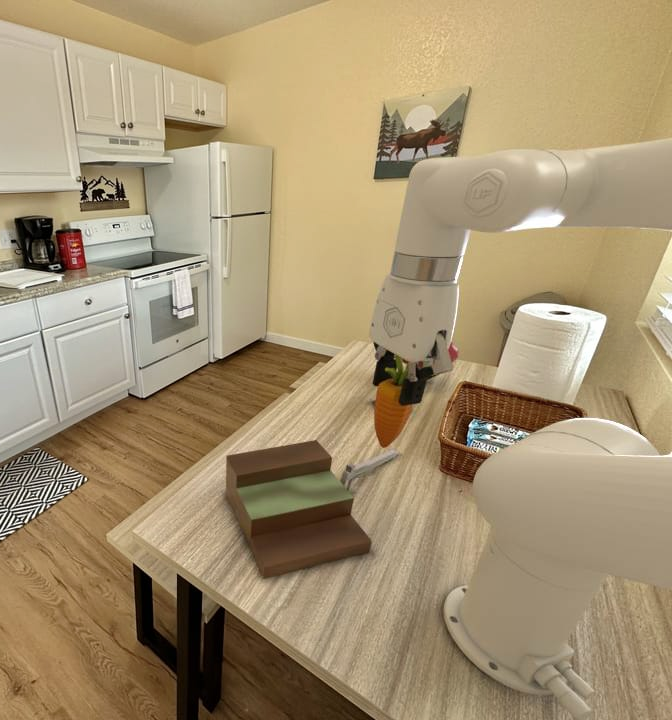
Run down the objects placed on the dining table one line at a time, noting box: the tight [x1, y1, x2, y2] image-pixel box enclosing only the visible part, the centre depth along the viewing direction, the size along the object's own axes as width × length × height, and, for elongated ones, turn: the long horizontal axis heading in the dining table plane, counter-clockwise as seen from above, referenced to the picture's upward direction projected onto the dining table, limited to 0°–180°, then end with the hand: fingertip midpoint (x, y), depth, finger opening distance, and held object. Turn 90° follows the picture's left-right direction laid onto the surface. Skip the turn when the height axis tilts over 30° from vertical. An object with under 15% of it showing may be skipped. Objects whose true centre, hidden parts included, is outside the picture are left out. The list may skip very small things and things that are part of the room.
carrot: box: [373, 356, 414, 449], centre depth 57 cm, size 5×5×15 cm
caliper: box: [339, 449, 400, 492], centre depth 76 cm, size 20×1×6 cm, turn 127°
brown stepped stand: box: [225, 439, 373, 579], centre depth 65 cm, size 18×18×9 cm
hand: (395, 392), depth 56 cm, fingers closed on carrot, 5 cm apart
